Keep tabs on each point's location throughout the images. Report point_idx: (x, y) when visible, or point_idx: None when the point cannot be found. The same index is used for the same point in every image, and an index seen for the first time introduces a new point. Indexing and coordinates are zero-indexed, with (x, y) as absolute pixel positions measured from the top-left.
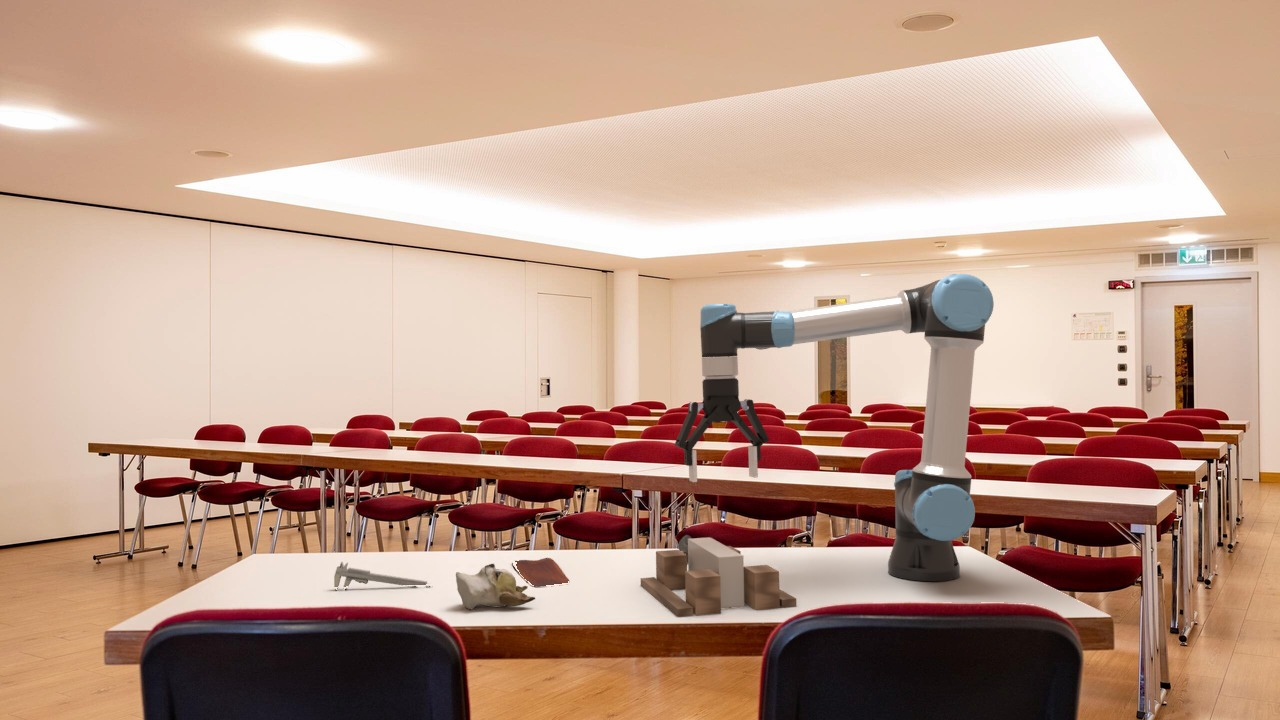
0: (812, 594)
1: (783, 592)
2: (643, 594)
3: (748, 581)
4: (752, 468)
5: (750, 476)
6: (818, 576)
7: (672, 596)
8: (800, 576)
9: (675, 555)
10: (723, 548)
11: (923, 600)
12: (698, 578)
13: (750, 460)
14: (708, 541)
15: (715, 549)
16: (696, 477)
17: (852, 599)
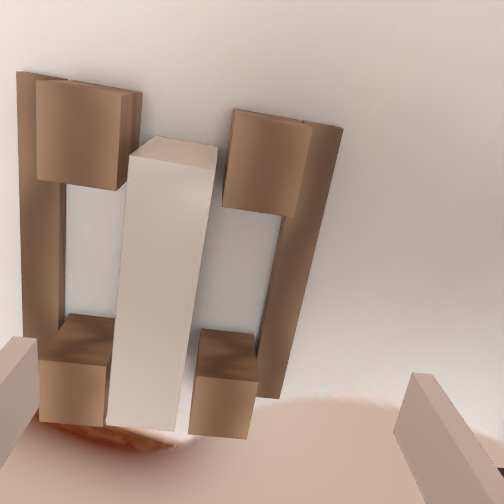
0: (362, 333)
1: (284, 355)
2: (8, 170)
3: (194, 384)
4: (419, 452)
5: (407, 387)
6: (492, 209)
7: (44, 288)
8: (458, 189)
9: (79, 177)
10: (169, 342)
11: (493, 437)
12: (48, 420)
13: (449, 475)
14: (176, 232)
15: (141, 344)
16: (24, 421)
17: (399, 390)
